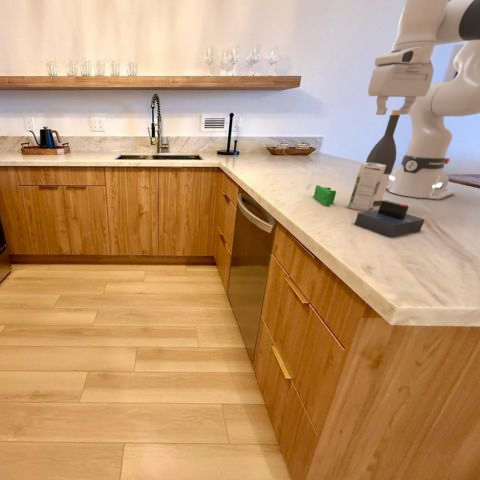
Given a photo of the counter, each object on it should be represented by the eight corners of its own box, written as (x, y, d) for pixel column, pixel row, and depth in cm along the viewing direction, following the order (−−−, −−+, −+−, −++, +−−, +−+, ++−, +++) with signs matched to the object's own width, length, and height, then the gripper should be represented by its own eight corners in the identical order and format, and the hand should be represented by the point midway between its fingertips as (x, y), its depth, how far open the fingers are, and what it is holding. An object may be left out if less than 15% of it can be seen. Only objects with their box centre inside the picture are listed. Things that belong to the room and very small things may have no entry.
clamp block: (382, 219, 86) (386, 207, 85) (420, 231, 78) (425, 218, 76) (354, 224, 82) (357, 212, 81) (390, 237, 74) (395, 224, 72)
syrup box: (352, 204, 100) (365, 161, 94) (372, 208, 96) (386, 164, 90) (347, 207, 96) (360, 164, 90) (368, 212, 92) (382, 166, 86)
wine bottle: (384, 206, 98) (417, 110, 85) (356, 203, 100) (385, 110, 88) (377, 200, 104) (407, 110, 92) (352, 197, 107) (377, 110, 95)
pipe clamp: (336, 206, 98) (340, 193, 96) (325, 206, 98) (328, 193, 96) (323, 197, 108) (326, 185, 106) (313, 196, 108) (316, 184, 106)
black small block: (377, 212, 81) (381, 199, 79) (381, 212, 81) (385, 199, 80) (400, 219, 76) (405, 206, 74) (404, 218, 76) (409, 205, 75)
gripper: (420, 61, 82) (403, 114, 88) (371, 57, 75) (356, 114, 81) (447, 58, 77) (427, 114, 82) (396, 53, 70) (378, 115, 76)
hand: (391, 114), depth 82 cm, fingers open, 8 cm apart
